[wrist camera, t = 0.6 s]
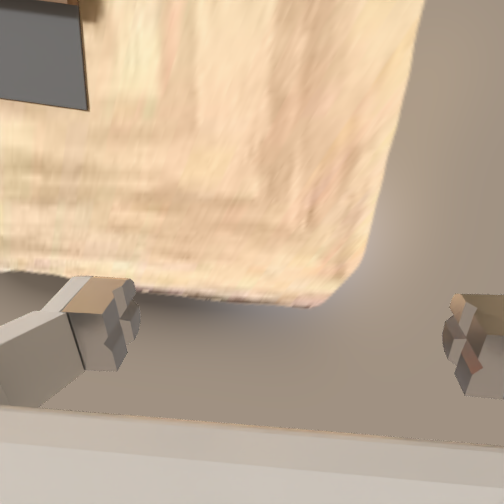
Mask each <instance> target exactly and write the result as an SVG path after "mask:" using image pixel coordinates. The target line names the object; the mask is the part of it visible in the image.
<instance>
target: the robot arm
mask: <svg viewBox="0 0 504 504" xmlns="http://www.w3.org/2000/svg"><path fill="white" fill-rule="evenodd" d="M135 294H136V289H135V285H134V282H133V281H132V280H131V279H128V278H113V277H98V276H95V277H94V276H74V277H72V278H71V279H70V280H69V281H68V282H67V283H66V285H64V287H63V288H62V289H61V290H60V291H59V292H58V293H57V294H56V295H55V296H54V297H53V298H52V299H51V300H50V301H49V302H48V303H47V304H46V305H45V307H43V309H42V310H41V311H33V312H31V313H28V314H26V315H24V316H22V317H20V318H17V319H16V320H13V321H11V322H9V323H6V324H4V325H2V326H0V504H504V446H501V445H488V444H475V443H463V442H452V441H440V440H428V439H416V438H404V437H392V436H380V435H368V434H356V433H344V432H332V431H319V430H307V429H295V428H282V427H270V426H257V425H245V424H232V423H220V422H207V421H195V420H183V419H182V420H181V419H170V418H158V417H144V416H133V415H121V414H109V413H96V412H84V411H72V410H59V409H47V408H38V407H40V406H41V405H42V404H43V403H45V402H46V401H47V400H49V399H50V398H51V397H53V396H54V395H55V394H57V393H58V392H59V391H60V390H62V389H63V388H64V387H66V386H67V385H68V384H70V383H71V382H72V381H73V380H75V379H76V378H77V377H79V376H80V375H81V374H83V373H84V372H85V371H84V370H93V371H118V369H119V367H120V365H121V364H122V362H123V360H124V358H125V356H126V354H127V353H128V352H127V348H126V345H128V344H129V343H131V342H132V341H134V340H135V338H136V336H137V334H138V331H139V326H140V309H139V305H138V304H137V303H136V302H135V301H134V300H133V299H132V298H133V297H134V295H135ZM449 308H450V309H451V311H452V313H453V316H452V317H450V318H449V319H448V320H447V321H445V324H444V329H443V333H442V341H443V347H444V352H445V354H446V356H447V359H448V360H449V361H451V362H452V363H453V364H455V365H456V366H457V367H456V370H455V376H456V378H457V380H458V382H459V385H460V386H461V389H462V391H463V393H464V395H465V396H472V397H482V398H493V399H503V400H504V294H503V295H502V294H501V295H490V294H455V295H454V296H453V298H452V300H451V303H450V307H449Z"/></svg>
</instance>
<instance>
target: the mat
mask: <svg viewBox="0 0 504 504" xmlns="http://www.w3.org/2000/svg"><path fill="white" fill-rule="evenodd" d="M0 98H5V99H12V100H19V101H26V102H33V103H40V104H47V105H54V106H61V107H69V108H76V109H83V110H88V109H87V98H86V86H85V75H84V63H83V52H82V41H81V29H80V18H79V6H77V5H70V4H62V3H54V2H47V1H39V0H0Z"/></svg>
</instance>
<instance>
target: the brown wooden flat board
mask: <svg viewBox="0 0 504 504" xmlns="http://www.w3.org/2000/svg"><path fill="white" fill-rule="evenodd" d="M39 1H47V2H54V3H62V4H70V5H77V6H78V0H39Z"/></svg>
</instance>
